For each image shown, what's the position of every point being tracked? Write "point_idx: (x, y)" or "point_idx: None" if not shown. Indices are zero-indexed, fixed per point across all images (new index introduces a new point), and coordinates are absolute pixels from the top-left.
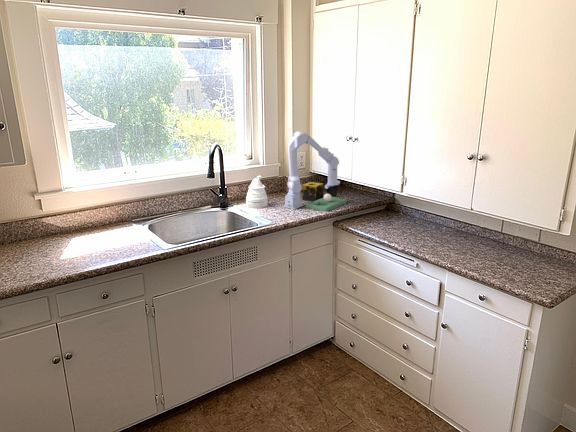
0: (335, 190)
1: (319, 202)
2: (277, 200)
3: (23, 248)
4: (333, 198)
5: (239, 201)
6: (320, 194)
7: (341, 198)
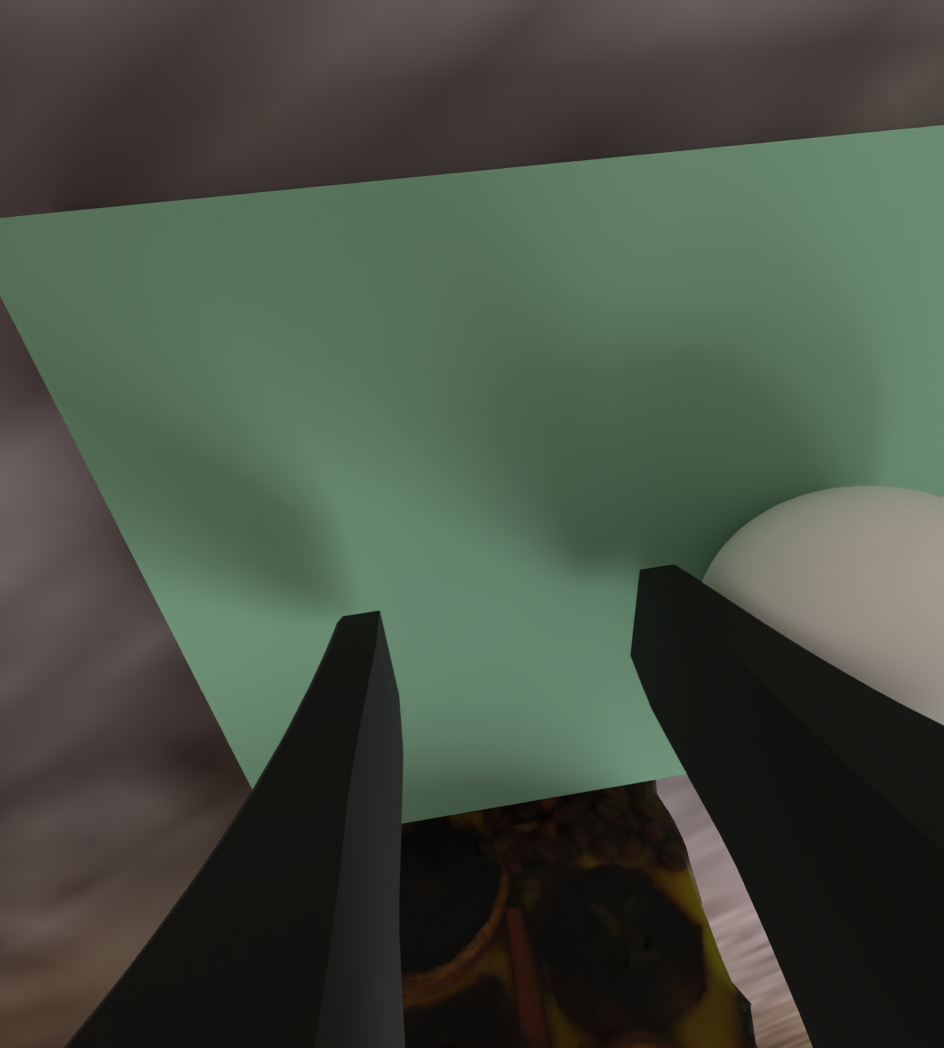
0: (361, 907)
1: None
2: None
3: None
4: None
5: None
6: (474, 920)
7: (124, 482)
